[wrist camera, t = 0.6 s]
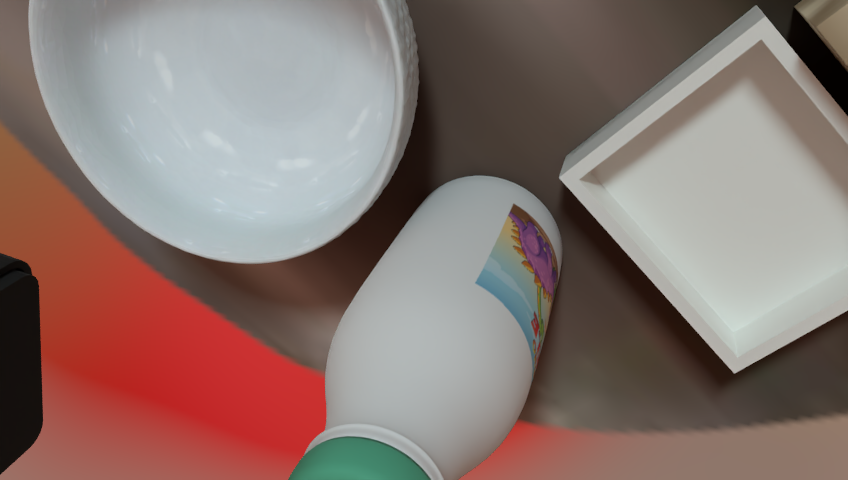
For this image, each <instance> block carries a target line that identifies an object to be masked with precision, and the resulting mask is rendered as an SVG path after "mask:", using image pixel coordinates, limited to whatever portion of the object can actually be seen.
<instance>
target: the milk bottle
mask: <svg viewBox="0 0 848 480" xmlns="http://www.w3.org/2000/svg"><path fill="white" fill-rule="evenodd" d="M562 256H563V250H562V241H561V236H560V232H559V230H558V227H557V224H556V222H555V220H554V218H553V217H552V215H551V214H550V212H549V211H548V209H547V208H546V207H545V206H544V204H543V203H542V202H541V201H540V200H539V199H538V198H536V197H535V196H534V195H533V194H532V193H530V192H529V191H528V190H526V189H524V188H523V187H521V186H519V185H517V184H515V183H513V182H510V181H507V180H505V179H501V178H497V177H491V176H468V177H463V178H459V179H455V180H452V181H450V182H448V183H445V184H444V185H442V186H440V187H439V188H437V189H436V190H434V191H433V192H432V193H431V194H430V195H429V196H428V197H427V198H426V199H425V200H424V201H423V202H422V203H421V205H420V206H419V207H418V208H417V210H416V211H415V212H414V214H413V215H412V216H411V218H410V219H409V220H408V222H407V223H406V225H405V226H404V227H403V229H402V230H401V231H400V233H399V234H398V236H397V237H396V238H395V240H394V241H393V242H392V244H391V245H390V247H389V248H388V249H387V251H386V252H385V254H384V255H383V256H382V258H381V259H380V261H379V262H378V263H377V265H376V266H375V268H374V269H373V271H372V272H371V273H370V275H369V276H368V278H367V279H366V280H365V282H364V283H363V285H362V286H361V288H360V289H359V291H358V292H357V294H356V295H355V297H354V299H353V300H352V302H351V303H350V305H349V307H348V308H347V310H346V311H345V313H344V315H343V317H342V319H341V321H340V323H339V325H338V327H337V330H336V332H335V335H334V337H333V339H332V343H331V347H330V351H329V354H328V359H327V365H326V374H325V394H326V405H327V420H326V428H325V431H324V432H322V433H321V434H320V435H318V436H317V437H316V438H315V439H314V440H313V441H312V442H311V444H310V445H309V446H308V448H307V450H306V452H305V454H304V456H303V458H302V459H301V460H300V461H299V463H298V464H297V466H296V467H295V469H294V470H293V472H292V474H291V475H290V477H289V479H288V480H458V479H459V478H461V477H462V476H464V475H465V474H466V473H468V472H469V471H471V470H472V469H473V468H475V467H476V466H478V465H479V464H480V463H481V462H483V461H484V460H485V459H487V458H488V457H489V456H490V455H491V454H492V453H493V452H494V451H495V450H496V449H497V448H498V447H499V446H500V445H501V443H502V442H503V441H504V439H505V438H506V437H507V435H508V434H509V432H510V431H511V430H512V428H513V426H514V425H515V423H516V421H517V419H518V417H519V415H520V413H521V411H522V409H523V407H524V404H525V402H526V399H527V396H528V393H529V390H530V387H531V384H532V381H533V378H534V374H535V371H536V367H537V364H538V360H539V356H540V352H541V348H542V345H543V341H544V337H545V333H546V330H547V325H548V321H549V317H550V313H551V309H552V305H553V301H554V297H555V293H556V289H557V285H558V280H559V276H560V270H561V265H562Z"/></svg>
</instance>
